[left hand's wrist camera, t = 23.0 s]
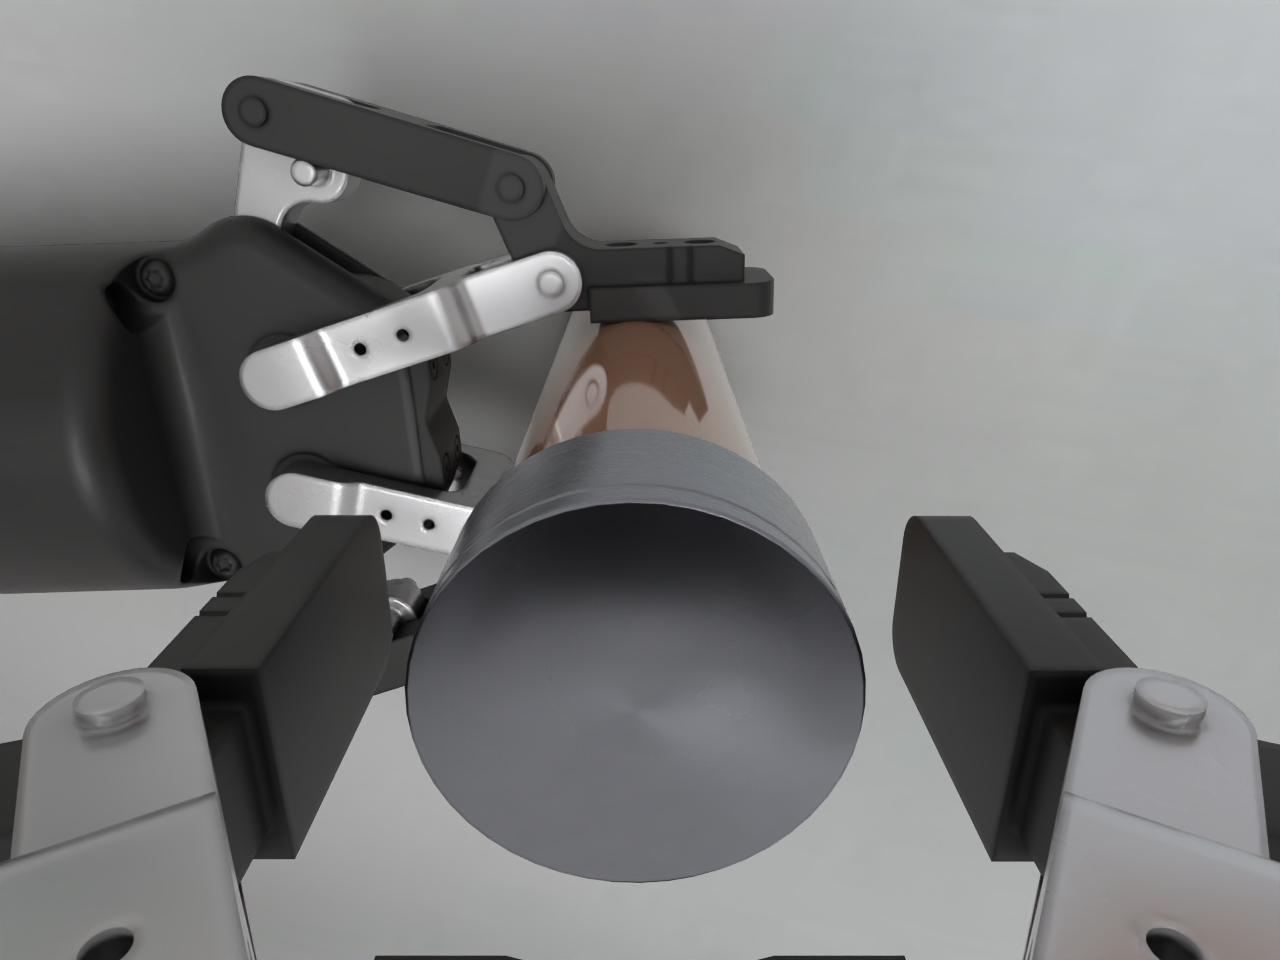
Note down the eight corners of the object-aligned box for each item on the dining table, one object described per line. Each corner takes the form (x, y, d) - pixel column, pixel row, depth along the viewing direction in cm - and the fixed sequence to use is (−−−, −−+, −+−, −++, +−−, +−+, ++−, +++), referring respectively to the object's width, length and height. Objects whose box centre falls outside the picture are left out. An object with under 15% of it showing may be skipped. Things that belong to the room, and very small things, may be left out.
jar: (654, 238, 24) (681, 422, 8) (736, 356, 25) (888, 701, 10) (537, 325, 24) (374, 631, 9) (622, 435, 26) (598, 863, 11)
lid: (888, 659, 11) (941, 772, 9) (579, 809, 12) (568, 941, 10) (705, 351, 10) (723, 407, 8) (370, 548, 10) (307, 645, 8)
